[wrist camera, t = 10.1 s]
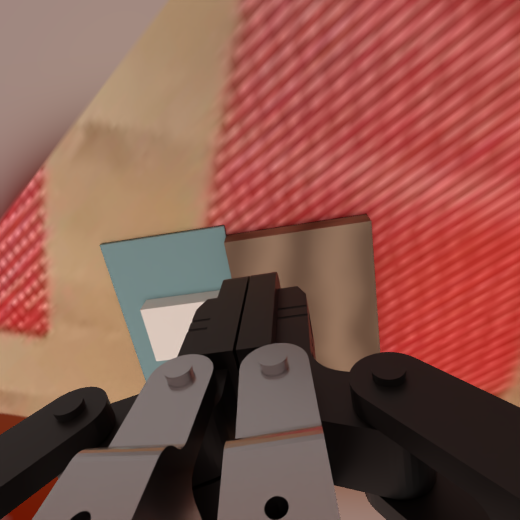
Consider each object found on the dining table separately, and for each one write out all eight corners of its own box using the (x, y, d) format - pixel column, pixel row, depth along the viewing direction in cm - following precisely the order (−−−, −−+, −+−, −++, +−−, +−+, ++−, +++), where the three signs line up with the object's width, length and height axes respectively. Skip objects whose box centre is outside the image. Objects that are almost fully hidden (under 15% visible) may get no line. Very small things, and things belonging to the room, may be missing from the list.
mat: (224, 225, 38) (223, 226, 38) (257, 380, 45) (256, 382, 45) (101, 243, 39) (99, 245, 39) (151, 392, 46) (150, 394, 46)
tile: (234, 288, 40) (232, 297, 39) (245, 339, 43) (244, 350, 41) (146, 299, 41) (140, 310, 39) (161, 349, 44) (156, 361, 42)
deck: (366, 214, 37) (371, 220, 36) (376, 358, 44) (381, 370, 42) (226, 235, 39) (223, 242, 37) (255, 372, 45) (254, 385, 43)
